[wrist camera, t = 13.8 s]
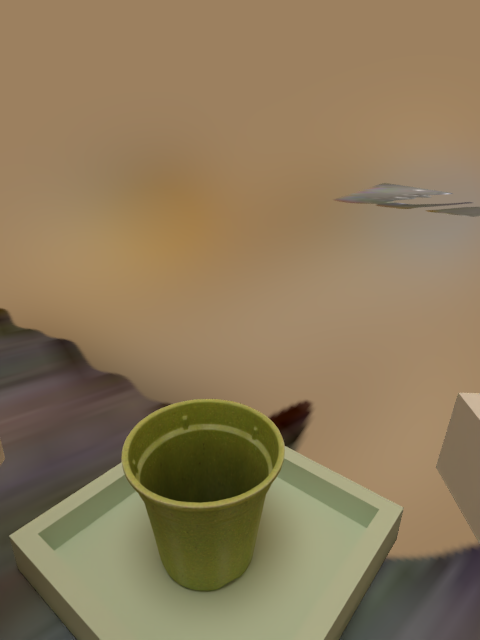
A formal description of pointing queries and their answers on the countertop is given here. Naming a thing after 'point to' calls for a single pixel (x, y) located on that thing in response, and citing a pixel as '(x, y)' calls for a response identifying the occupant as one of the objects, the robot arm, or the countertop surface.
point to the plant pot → (204, 485)
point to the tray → (232, 598)
